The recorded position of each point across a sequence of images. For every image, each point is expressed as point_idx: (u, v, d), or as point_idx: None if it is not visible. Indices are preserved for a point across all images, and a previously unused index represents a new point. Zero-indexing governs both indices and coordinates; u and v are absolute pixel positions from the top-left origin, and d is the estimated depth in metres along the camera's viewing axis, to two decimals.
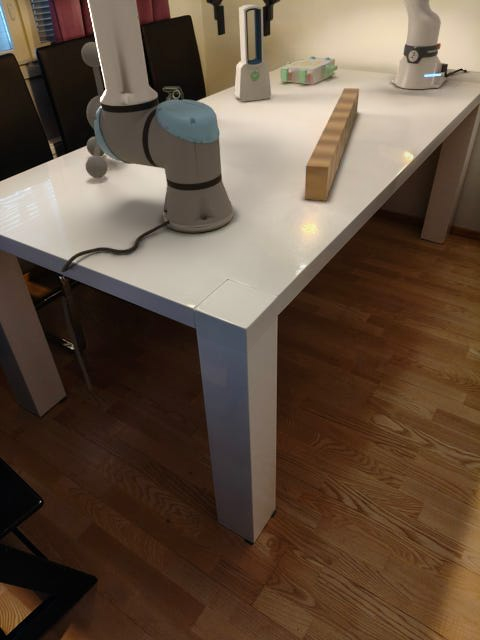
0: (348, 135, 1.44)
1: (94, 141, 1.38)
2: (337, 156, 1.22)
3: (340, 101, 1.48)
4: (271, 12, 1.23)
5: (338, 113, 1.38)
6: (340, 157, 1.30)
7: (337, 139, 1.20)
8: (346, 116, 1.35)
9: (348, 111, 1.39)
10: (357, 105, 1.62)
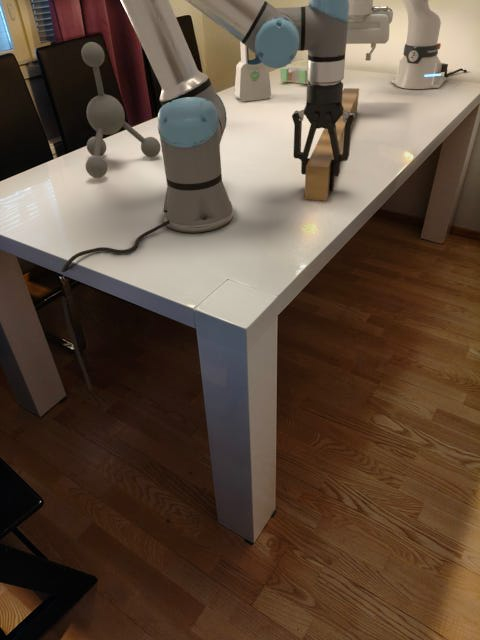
0: None
1: (94, 141, 1.38)
2: None
3: None
4: (339, 167, 1.12)
5: None
6: None
7: None
8: None
9: (348, 111, 1.39)
10: (357, 105, 1.62)
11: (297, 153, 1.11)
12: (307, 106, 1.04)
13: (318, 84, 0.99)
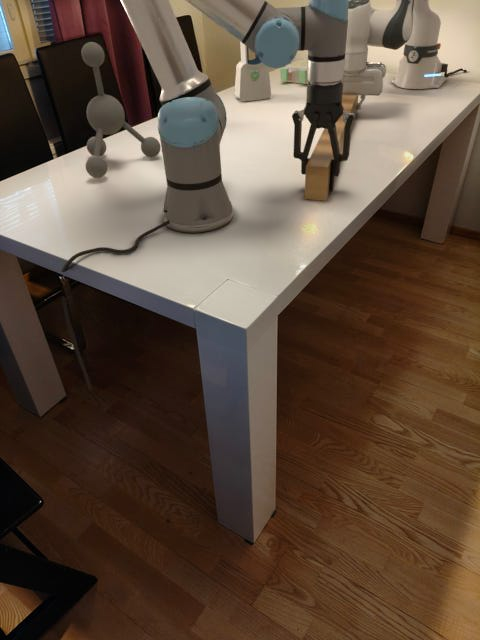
0: None
1: (94, 141, 1.38)
2: None
3: None
4: (339, 167, 1.12)
5: None
6: None
7: None
8: None
9: (348, 111, 1.39)
10: None
11: (297, 153, 1.11)
12: (307, 106, 1.04)
13: (318, 84, 0.99)
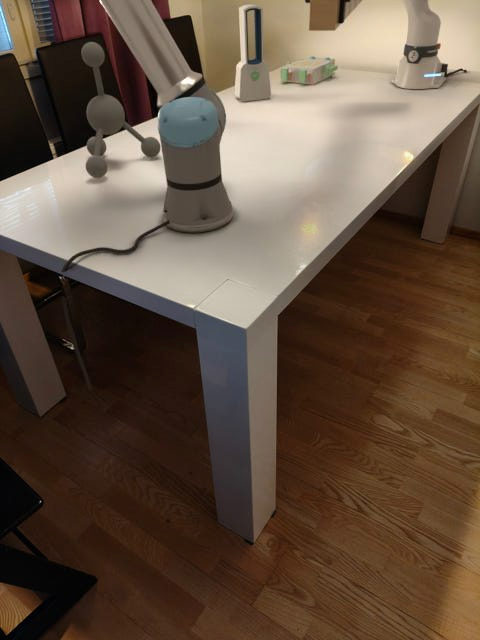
0: (359, 0, 1.24)
1: (94, 141, 1.38)
2: None
3: None
4: None
5: None
6: (351, 8, 1.09)
7: None
8: None
9: None
10: None
11: None
12: None
13: None
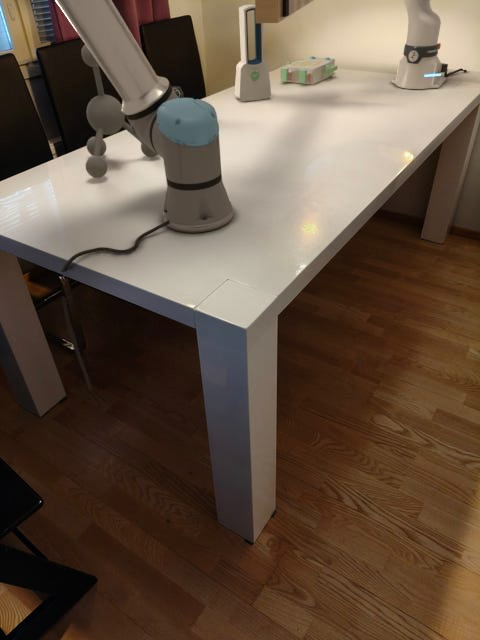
0: None
1: (94, 141, 1.38)
2: None
3: None
4: None
5: None
6: (300, 4, 1.20)
7: None
8: None
9: None
10: None
11: None
12: None
13: None
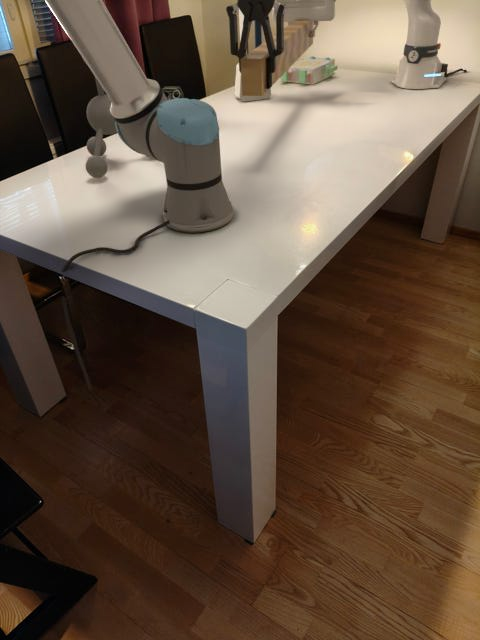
0: (298, 55, 1.48)
1: (94, 141, 1.38)
2: (278, 62, 1.25)
3: (292, 24, 1.51)
4: (274, 63, 1.15)
5: (286, 30, 1.41)
6: (285, 68, 1.33)
7: None
8: (293, 32, 1.39)
9: (296, 29, 1.42)
10: None
11: (234, 49, 1.14)
12: None
13: None
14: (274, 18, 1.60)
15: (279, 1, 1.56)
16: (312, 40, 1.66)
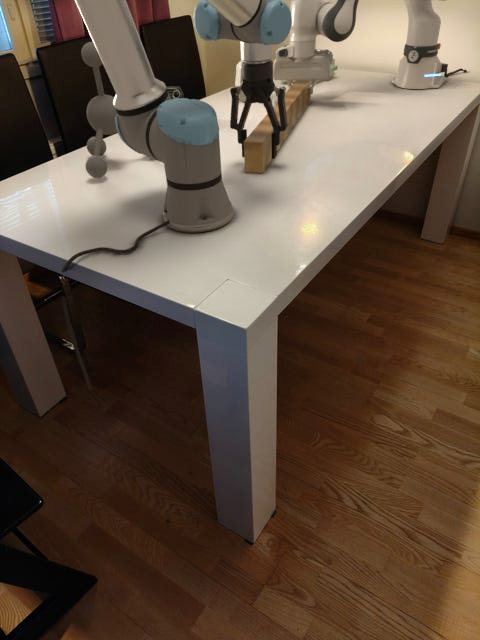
0: (296, 119, 1.59)
1: (94, 141, 1.38)
2: None
3: (290, 89, 1.63)
4: (279, 137, 1.25)
5: (285, 99, 1.53)
6: (284, 137, 1.45)
7: None
8: (291, 101, 1.50)
9: (295, 97, 1.54)
10: None
11: (233, 124, 1.25)
12: (243, 83, 1.18)
13: (250, 62, 1.13)
14: (274, 77, 1.70)
15: (279, 62, 1.67)
16: (310, 99, 1.77)
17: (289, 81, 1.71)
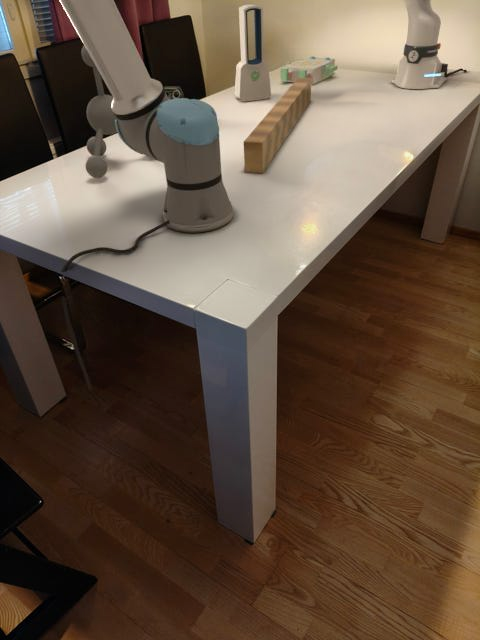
0: (296, 119, 1.59)
1: (94, 141, 1.38)
2: (278, 135, 1.37)
3: (290, 89, 1.63)
4: None
5: (285, 99, 1.53)
6: (284, 137, 1.45)
7: (277, 120, 1.35)
8: (291, 101, 1.50)
9: (295, 97, 1.54)
10: (310, 93, 1.76)
11: None
12: None
13: None
14: None
15: None
16: (310, 99, 1.77)
17: None
